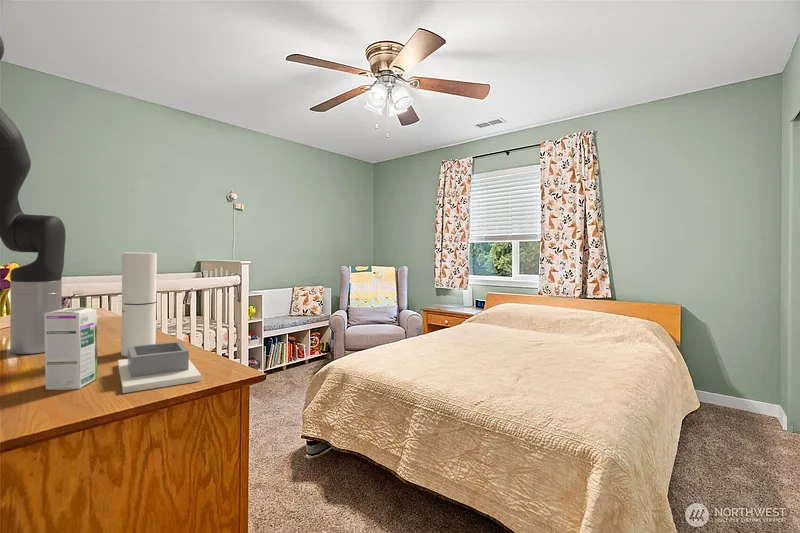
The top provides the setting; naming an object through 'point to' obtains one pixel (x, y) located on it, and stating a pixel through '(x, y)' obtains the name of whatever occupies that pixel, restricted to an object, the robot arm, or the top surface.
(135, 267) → the cylindrical container
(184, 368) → the dock
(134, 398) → the top surface
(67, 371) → the syrup box
